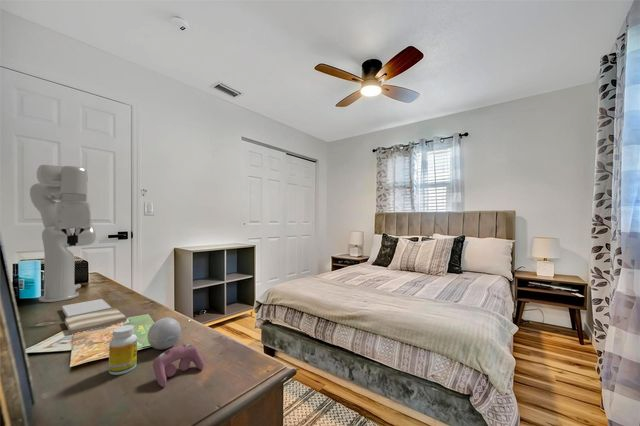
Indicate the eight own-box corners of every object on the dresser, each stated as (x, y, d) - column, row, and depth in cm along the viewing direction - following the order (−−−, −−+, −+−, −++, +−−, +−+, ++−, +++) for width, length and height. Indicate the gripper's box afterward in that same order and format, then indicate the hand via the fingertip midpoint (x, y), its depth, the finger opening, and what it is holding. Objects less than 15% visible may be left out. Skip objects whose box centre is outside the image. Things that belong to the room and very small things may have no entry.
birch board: (126, 321, 93) (126, 317, 93) (71, 335, 83) (71, 330, 83) (115, 312, 102) (115, 308, 102) (64, 322, 92) (65, 318, 92)
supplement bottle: (108, 368, 65) (108, 327, 65) (135, 360, 68) (135, 322, 68) (109, 378, 61) (109, 335, 61) (138, 370, 64) (138, 329, 64)
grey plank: (111, 311, 103) (111, 307, 103) (68, 320, 94) (68, 316, 94) (101, 302, 113) (101, 298, 113) (62, 309, 104) (62, 305, 104)
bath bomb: (184, 348, 75) (184, 319, 75) (150, 358, 69) (150, 326, 69) (176, 338, 81) (176, 311, 81) (144, 347, 75) (145, 317, 76)
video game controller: (197, 370, 67) (191, 341, 69) (206, 367, 64) (200, 337, 66) (153, 390, 59) (148, 356, 61) (161, 388, 57) (155, 353, 59)
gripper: (47, 197, 98) (46, 248, 99) (100, 199, 110) (98, 245, 110) (45, 197, 103) (44, 245, 104) (95, 199, 115) (94, 243, 115)
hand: (72, 245), depth 107 cm, fingers closed
